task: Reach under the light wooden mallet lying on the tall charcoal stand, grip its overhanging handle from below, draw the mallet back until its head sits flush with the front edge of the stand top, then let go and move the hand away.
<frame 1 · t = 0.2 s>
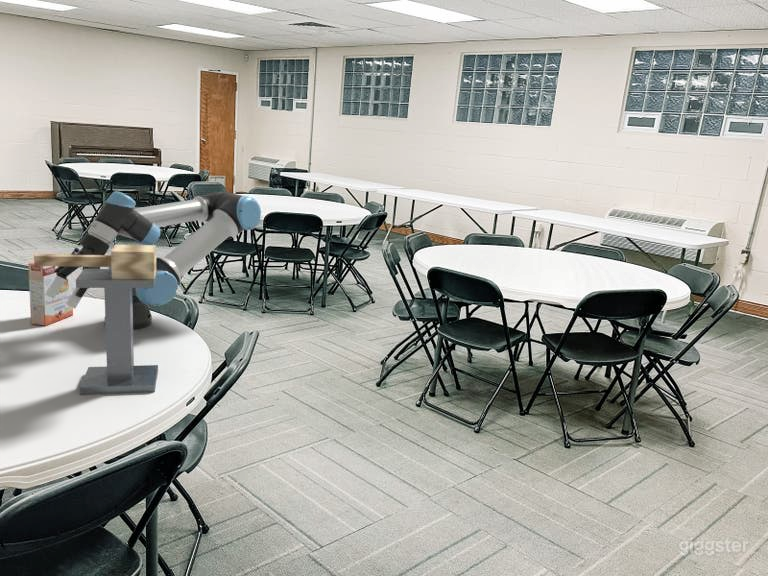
hand: (59, 301, 183), 16 cm above the table, tool tilted 35°, fingers open, 13 cm apart
cracker box: (53, 320, 214), on the table
stand: (121, 382, 169), on the table
mallet: (118, 274, 162), point 30 cm above the table, touching stand
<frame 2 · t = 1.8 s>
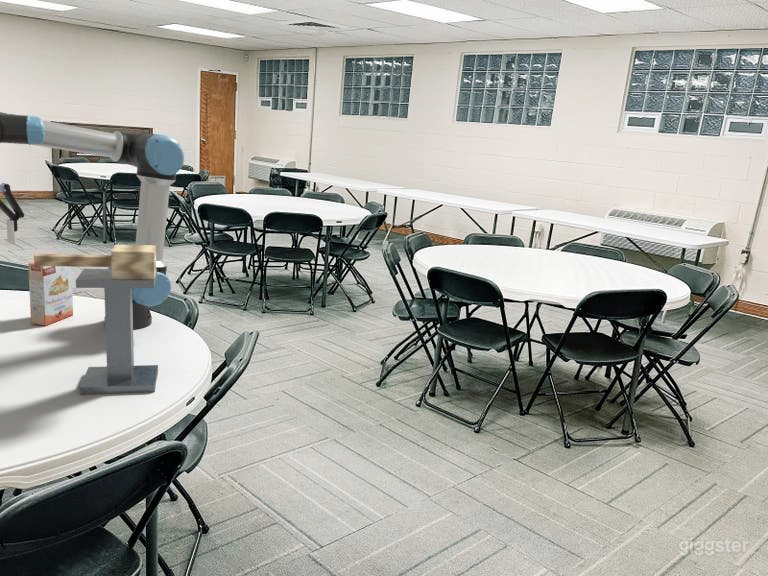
nothing on the table moved.
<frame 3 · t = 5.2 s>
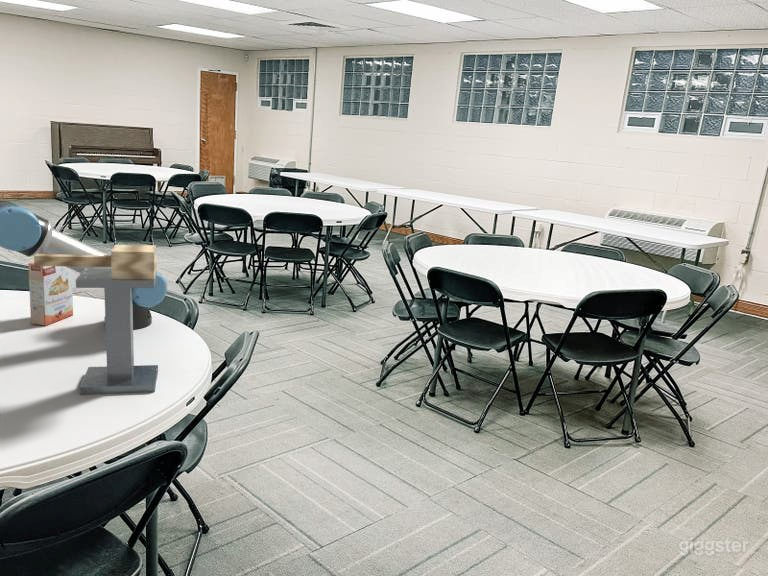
nothing on the table moved.
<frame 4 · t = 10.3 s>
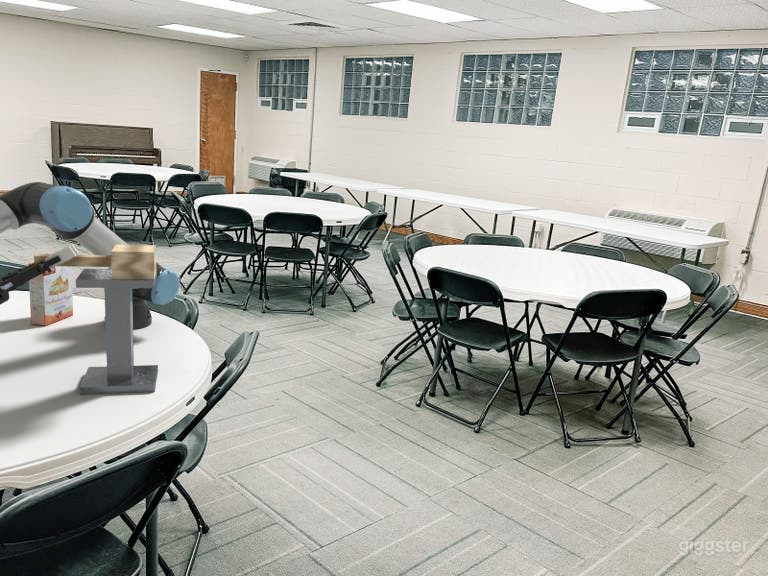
hand: (73, 249, 158), 36 cm above the table, tool pointing upward, fingers closed on mallet, 2 cm apart
mallet: (118, 274, 162), point 30 cm above the table, touching gripper, stand
everything else where it was.
when the fingers open (37 cm above the table, at t = 14.6 s): mallet stays where it is, resting on stand.
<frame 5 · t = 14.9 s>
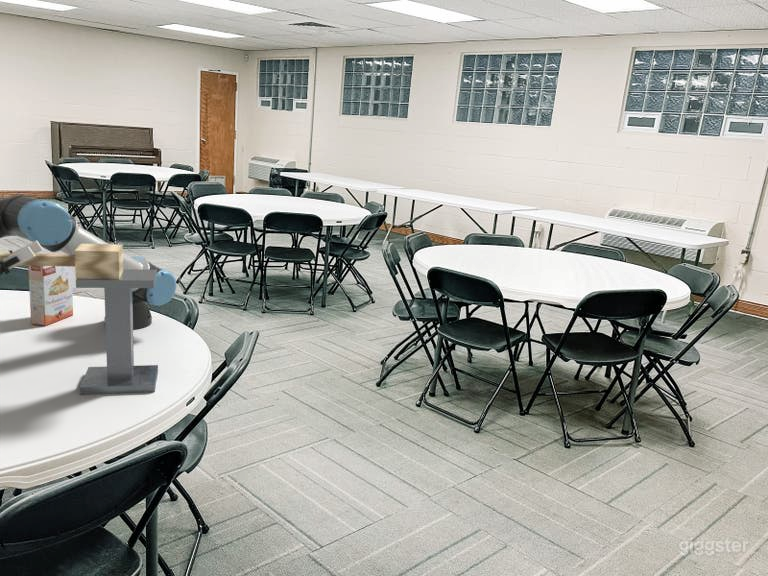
hand: (35, 248, 155), 36 cm above the table, tool pointing upward, fingers open, 7 cm apart
mallet: (83, 274, 160), point 30 cm above the table, touching stand
everything else where it was.
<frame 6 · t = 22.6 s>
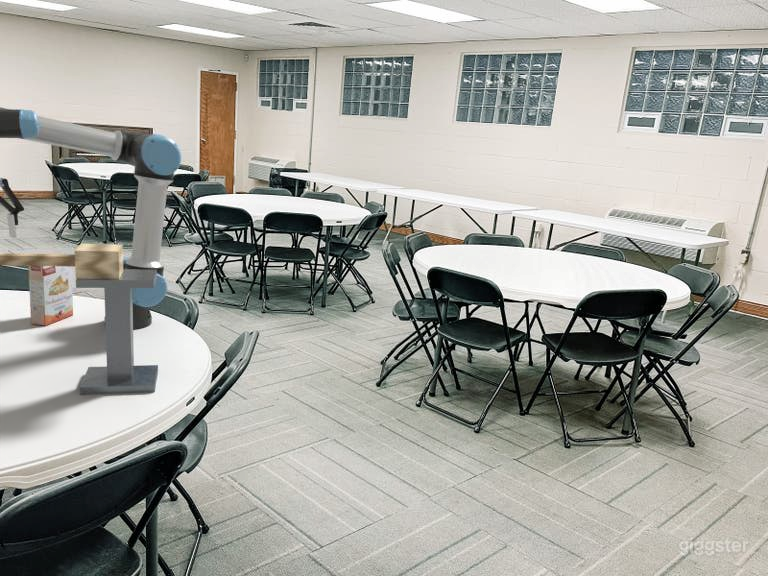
nothing on the table moved.
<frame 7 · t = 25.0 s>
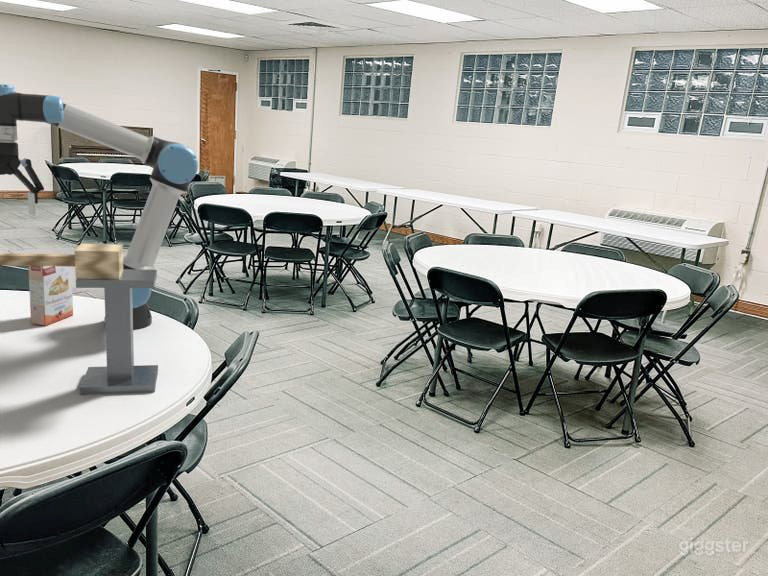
hand: (7, 216, 182), 39 cm above the table, tool pointing down, fingers open, 13 cm apart
nothing on the table moved.
at the end: mallet 0.2 cm from the target spot on the stand, point 30.0 cm above the stand's base; mallet tilted 0°; the gripper is holding nothing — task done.
